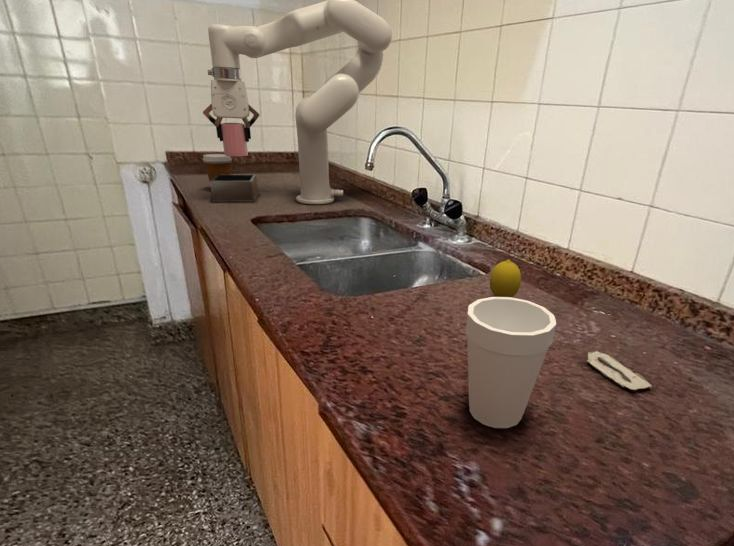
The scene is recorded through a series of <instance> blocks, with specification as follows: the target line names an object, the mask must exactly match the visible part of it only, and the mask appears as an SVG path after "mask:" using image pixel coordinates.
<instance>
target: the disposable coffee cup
mask: <svg viewBox="0 0 734 546" xmlns="http://www.w3.org/2000/svg"><path fill="white" fill-rule="evenodd" d="M202 157H203V158H202V159H201V160H202V161H203V163H204V166H205V170H206V173H207V177H208V181H209V182H210V180H212V179H213V178H214V177H215V176H216V175H217V174H232V161H233V159H232V156H226V155H225V154H224V153H206V154H203V156H202Z"/></svg>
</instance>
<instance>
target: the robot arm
mask: <svg viewBox="0 0 734 546" xmlns="http://www.w3.org/2000/svg"><path fill="white" fill-rule="evenodd" d="M207 31H208V33H207V34H208V42H209V50H210V57H211V65H212V67H211V69H207V75H208V76H211V77H213V79H211V80H210V97H211V98H210V101H211V103H210V104H209V105H208V106H207V107H206V108H205V109H204V110H203V111H202V114H203V115H204V116H205V117H206V119H208V121H209V122H210V123H211V124H213V125H214V127H215V130H216V136H217V139H219V142H223V139H222V131H221V123H222V121H223V119H241V120H242V123H243V124H245V139H246V142H247V143H249V142H250V140H251V139H252V134H251V133H252V132H251V127H252V126H253V125H254V124H255V123H256V121H257V120H258V119H259V117H260V115H261V114H260V113H259V112H258V111H257V110H256V109H255V108H253V107H252V106H251V105H250V104H249V98H248V91H247V88H246V84H245V81H243V80H242V72H241V61H240V55H243V56H246V57H247V58H249V59H258V58H263V57H265V56H268V55H271V54H275V53H277V52H281V51H283V50H287V49H291V48H295V47H301V46H303V45H306V44H311V43H313V42H315V41H318V40H322V39H325V38H329V37H332V36H335V35H338V34H341V33H345V34H347V35H348V37H351V38H352V39H354V40H355V41H357V51H356V53H355V55H354V56H353V58H351V60H349V61H348V62H347V63H346V64H345V65H344V66H343V67H341V68H340V69H339V70H337V72H335V73H334V74H332V75H331V76H329V77H328V78H327V79H326V81H325V82H324V84H323V85H322V86H320V88H319V89H317V90H316V91H315V92H314V93H312V95H310V96H308V97H304V98H301V100H300V101H299V102H298V103H297V105H296V107H295V111H294V113H295V115H294V116H295V126H296V137H297V138H296V139H297V150H298V151H297V152H298V153H297V154H298V169H299V171H298V172H299V185H300V186H299V188H300V194H298V195H297V196H296V199H295V200H296V202H298V203H301V204H305V205H325V204H330V203H333V202H335V196H336V197H337V196H338V197H343V196H344V189H338V188H337V189H334V188H331V185H330V169H329V168H330V167H329V165H330V164H329V141H328V140H329V139H328V129H329V127H331V126H332V125H333V124H334V123H336V122H337V121H338V120H339V119H340V118H342V117H343V116H344V115H346V113H348V112H349V111H351V109H352V108H353V107H354V106H355V105H356V103H357V102H358V99H359V95H360V93H361V92H362V91H364V90H365V89H366V88H367V87H368V86H369V85H370V84H371V83H372V82H373V81H374V80H375V79H376V78H377V76H378V75H379V73H380V71H381V68H382V65H383V61H384V51H385V50H387V49H388V48H389V46H390V45H391V43H392V40H393V39H392V38H393V31H392V28H391V25H390V24H389V22H387V20H385V18H383V17H382V16H380V15H379V14H377V13H375V12H374V11H372V10H370V9H369V8H367V7H366V6H364V5H363V4H361V3H360V2H358V1H356V0H324V1H320V2H317V3H314V4H311V5H308V6H304V7H300V8H296V9H294V10H291V11H289V12H288V13H286V14H284V15H283V16H282V17H280V18H277V19H275V20H273V21H271V22H268V23H265V24H262V25H259V26H253V25H238V26H237V25H233V26H231V25H228V24H223V23H221V24H220V23H213V24H210V25H209V26H208V28H207ZM211 112H212V114H211ZM250 113H252V115H253V116H252V118H250V119H249V118H248V117H250ZM212 115H213V116H212ZM214 117H215V118H214Z"/></svg>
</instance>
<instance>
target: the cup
mask: <svg viewBox="0 0 734 546" xmlns="http://www.w3.org/2000/svg"><path fill="white" fill-rule="evenodd" d="M221 131H222V139H223V141H222V147H223V154H225V155H226V156H230V157H247V156H248V155H249V154H248V153H249V150H248V142H246V139H245V124H244V122H242V123H241V122H221Z"/></svg>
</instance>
